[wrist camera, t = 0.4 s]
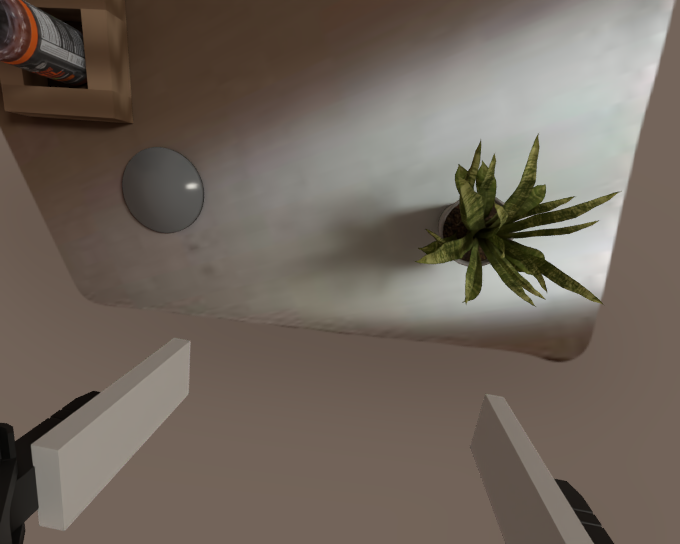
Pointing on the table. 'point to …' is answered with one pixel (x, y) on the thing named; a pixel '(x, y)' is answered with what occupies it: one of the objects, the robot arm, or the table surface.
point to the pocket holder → (101, 66)
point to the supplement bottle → (41, 43)
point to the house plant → (503, 230)
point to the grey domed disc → (163, 189)
